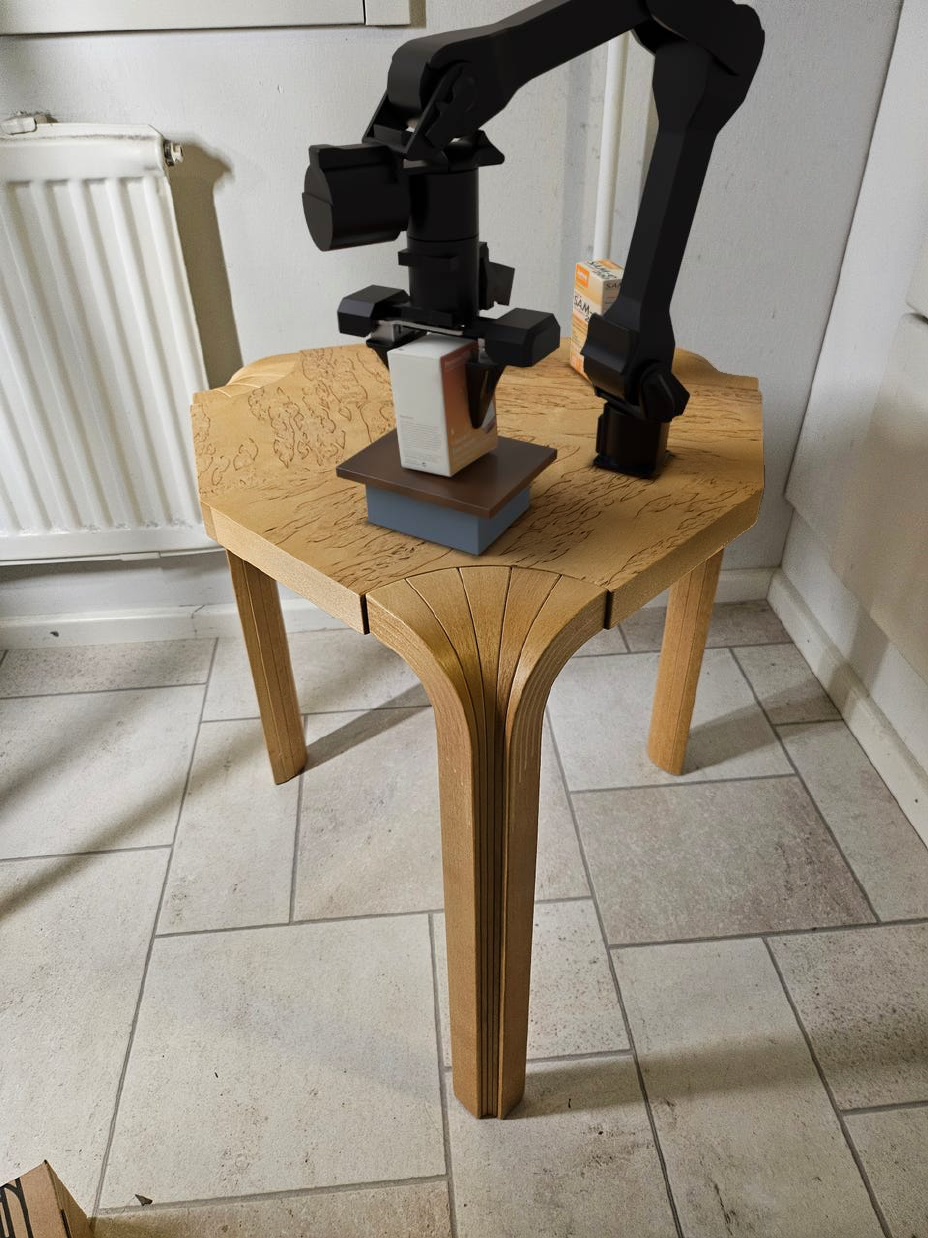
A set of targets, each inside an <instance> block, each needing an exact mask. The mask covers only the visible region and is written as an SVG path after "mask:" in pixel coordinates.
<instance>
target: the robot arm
mask: <svg viewBox="0 0 928 1238" xmlns="http://www.w3.org/2000/svg"><path fill="white" fill-rule="evenodd" d="M629 31H630V33H631V35H632V37H633V38H634V41H635V42H636V43H637V44H638V45H639V46H640V47H641V48H643V49H644V50H645V51H647V52H648V53H649V54H650V55H652V56H653V57H654V62H653V71H652V80H651V88H652V94H653V99H654V105H655V108H656V114H657V120H658V121H657V122H658V125H657V133H656V136H655V141H654V146H653V150H652V153H651V157H650V162H649V165H648V170H647V173H646V177H645V178H646V179H645V182H644V185H643V191H642V195H641V199H640V203H639V207H638V211H637V216H636V220H635V223H634V226H633V231H632V236H631V239H630V245H629V249H628V253H627V257H626V261H625V265H624V268H623V269H624V273H623V277H622V281H621V285H620V289H619V293H618V296H617V299H616V300H615V301H614V302H613V304H612V305H611V306H610V307H609V308H608V310H607V311H606V312H605V313H604V314H603V315H599V314H595V313H593V314H592V315H591V317H590V319H589V321H588V330H587V337H586V340H585V343H584V346H583V348H582V349H581V351H580V355H582V356H584V362H583V370H584V373H586V376H587V377H588V379H589V381H590V382H591V383H592V384H591V383H590V382H589V381H588V382H589V383H590V384H591V385H592V388H593V392H594V396H596V397H597V398H599V399H600V398H601V399H602V400H604V401H606V402H604V404H603V409H602V413H601V414H599V416H598V417H597V425H596V437H595V450H594V451H595V453H596V454H597V455H596V456H595V457H594V458H593V459H592V465H593V466H594V467H597V468H602V469H606V470H609V471H614V472H617V473H618V472H619V473H623V474H627V475H631V476H636V477H640V478H643V479H651V478H653V476H655V474H656V473H657V472H658V471H659V470H660V469H661V467H663V465H664V464H665V463H666V462H667V461H668V459H669V458H670V457H671V455H672V450H670V449H668V440H669V434H670V427H671V423H672V422H673V419H675V418H676V417H680V416H683V414H684V413H685V411H686V408H687V405H688V403H689V400H690V398H691V393H690V392H689V391H688V390H687V388H686V387H685V386H684V385H683V384H682V383H681V382H680V380H679V379H678V378H677V377H676V376H675V374H674V373H673V372H672V371H673V365H674V357H675V350H676V344H677V343H676V338H675V332H674V328H673V323H672V318H671V312H670V309H671V304H672V299H673V297H674V293H675V289H676V285H677V282H678V278H679V274H680V271H681V267H682V264H683V260H684V256H685V252H686V250H687V249H686V248H687V245H688V241H689V237H690V233H691V230H692V226H693V223H694V219H695V215H696V213H697V208H698V205H699V201H700V197H701V194H702V191H703V187H704V182H705V179H706V176H707V172H708V168H709V164H710V161H711V158H712V153H713V150H714V146H715V143H716V140H717V137H718V135H719V134H720V132H721V131H722V130H723V128H724V127H725V126H726V125H727V123H728V122H729V121H730V120H731V118H732V117H733V116H734V115H735V114H736V112H737V111H738V110H739V108H741V106H742V105H743V104H744V103H745V101H746V98H747V95H748V93H749V91H750V88H751V85H752V83H753V81H754V78H755V75H756V73H757V70H758V68H759V65H760V63H761V60H762V57H763V55H764V49H765V43H766V30H765V29H764V28H763V26H762V22H761V17H760V16H759V14H758V13H757V11H756V10H755V8H754V7H752V6H751V5H749V4H746V3H736V2H735V1H734V0H540V1H538V2H535V3H533V4H531V5H529V6H526V7H525V8H523V9H520V10H518V11H516V12H514V13H513V14H511V15H508V16H507V17H504V18H502V19H500V20H498V21H496V22H494V23H489V24H486V25H481V26H474V27H468V28H467V27H466V28H461V29H455V30H448V31H443V32H439V33H434V34H430V35H425V36H420V37H416V38H412V39H410V40H407V41H406V42H404V43H403V44H402V45H400V46H399V47H398V48H397V49H396V50H395V52H394V53H393V54H392V56H391V62H390V65H389V69H388V71H387V77H386V78H387V80H386V89H385V91H384V93H383V95H382V97H381V99H380V101H379V103H378V105H377V107H376V109H375V111H374V113H373V114H372V117H371V119H370V121H369V123H368V125H367V127H366V129H365V131H364V133H363V135H362V137H361V141H360V142H361V143H352V144H342V145H333V144H328V143H321V144H311V145H309V146H308V148H307V150H308V159H309V164H308V166H307V168H306V170H305V173H304V182H303V192H301V202H302V203H301V204H302V209H303V214H304V219H305V223H306V226H307V229H308V232H309V235H310V237H311V239H312V241H313V243H314V245H315V247H316V248H317V249H318V250H319V251H321V252H323V253H325V252H332V251H339V250H345V249H352V248H358V247H365V246H372V245H377V244H385V243H390V242H391V243H392V242H395V241H396V240H397V239H399V237H400V235H401V232H402V233H404V232H405V238H406V247H405V248H403V249H401V250H399V251H397V264H398V266H401V267H407V272H408V273H407V274H408V275H407V276H408V293H409V294H408V293H407V291H406V290H405V289H402V288H398V287H391V286H384V285H378V284H371V285H368V286H366V287H364V288H362V289H359V290H357V291H355V292H353V293H350V294H348V295H346V296H344V297H342V298H341V300H340V302H339V304H338V307H337V310H336V320H337V328H338V332H339V334H340V335H341V334H342V335H347V336H352V337H357V338H362V339H365V338H367V337H369V336H370V337H369V338H367V339H365V346H366V348H368V349H372V350H373V351H374V352H375V353H376V355H377V356H378V358H379V359H380V361H381V362H382V363H383V365H384V367H385V369H387V371H388V373H390V371H389V362H388V355H387V352H388V351H390V350H393V349H397V348H399V347H401V346H403V345H406V344H408V343H410V342H412V341H415V340H417V339H419V338H421V337H423V336H425V335H428V333H436V334H442V335H447V336H453V337H458V338H464V339H469V340H475V341H478V354H476V355H474V356H473V357H471V358H470V359H468V360H466V361H465V371H466V381H467V391H468V401H469V412H470V418H471V422H472V426H473V428H474V429H478V428H480V427H481V426H482V425H483V422H484V419H485V417H486V414H487V411H488V408H489V406H490V403H491V400H492V397H493V395H494V392H495V393H496V389H497V387H498V384H499V382H500V379H501V377H502V375H503V373H504V371H505V370H506V368H507V367H508V366H509V367H513V368H519V369H527V368H533V367H534V366H535V365H537V364H538V363H540V362H541V361H542V360H544V359H545V358H546V357H548V356H549V355H551V354H553V353H554V352H555V351H556V350H558V349H559V348H560V347H561V331H562V330H561V328H562V326H561V325H560V323H559V321H558V319H557V318H556V315H555V314H554V312H548V311H542V310H536V309H535V310H534V309H528V308H523V307H514V308H512V309H511V310H509V311H507V312H506V313H504V314H502V315H500V316H499V317H497V318H494V317H488V316H483V315H481V311H490V310H491V309H493V308H494V307H495V303H496V304H497V305H499V306H504V307H505V306H506V307H509V306H510V304H511V303H510V302H511V298H512V291H513V285H514V279H515V274H516V273H515V272H516V268H515V267H512V266H509V265H506V264H503V263H499V262H494V261H490V248H489V246H488V242H487V241H480V170H479V169H480V168H483V167H492V166H501V165H503V164H504V163H505V162H506V161H505V160H506V156H505V154H504V153H503V152H502V151H501V150H500V149H499V148H498V147H497V146H496V145H495V144H493V142H492V141H491V140H490V139H489V137H488V135H487V134H486V130H483V129H480V128H482V127H483V126H484V125H486V124H487V123H488V122H489V121H491V120H492V119H493V118H494V117H496V116H497V115H498V114H500V113H501V112H502V111H504V110H505V109H506V107H507V106H508V105H509V104H510V102H511V101H512V99H513V98H514V97H515V95H516V93H517V92H518V91H520V90H521V88H523V87H524V86H525V85H527V84H528V83H529V82H531V81H532V80H534V79H536V78H538V77H540V76H542V75H544V74H546V73H548V72H550V71H552V70H553V69H556V68H558V67H560V66H562V65H564V64H566V63H567V62H570V61H572V60H574V59H576V58H577V57H580V56H582V55H584V54H587V52H589V51H592V50H593V49H596V48H597V47H599V46H602V45H603V44H606V43H608V42H609V41H612V40H613V39H615V38H618V37H619V36H621V35H623V34H626V33H627V32H629ZM409 128H411V129H413V131H411V130H408V129H409ZM456 139H457V140H456ZM453 140H454V141H453Z"/></svg>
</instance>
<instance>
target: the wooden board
mask: <svg viewBox="0 0 928 1238" xmlns="http://www.w3.org/2000/svg"><path fill="white" fill-rule="evenodd" d="M558 451H559V450H558V449H557V448H555V447H550V446H546V445H541V444H536V443H533V442H528V441H524V440H520V439H515V438H512V437H507V436H502V435H499V434H498V446H497V447H496V448H495V449H493V450H491V451H489V452H487V453H486V454H484V455H482V456H481V457H479V458H478V459H476V460H475V461H473V462H471V463H470V464H468V465H467V466H465V467H464V468H462V469H461V470H459V471H458V472H457V473H455V474H454V475H453V476H451V477H449V476H444V475H439V474H434V473H429V472H424V471H420V470H415V469H410V468H405V467H402V464H401V456H400V449H399V441H398V433H397V426H396V427H394V428H393V429H391V430H389V431H387V433H385V434H383V435H382V436H381V437H379V438H378V439H376V440H374V441H373V442H371V443H370V444H369V445H367V446H365V447H364V448H362V449H360V450H359V451H358V452H355V454H353V455H352V456H350V457H349V458H347V459H346V460H344V461H343V462H341V463H340V464H338V465H337V466H335V472H336V473H335V474H336V477H337V478H340V479H344V480H347V481H350V482H354V483H358V484H362V485H364V486H365V485H368V486H372V487H375V488H379V489H382V490H386V491H389V492H393V493H397V494H400V495H404V496H407V497H411V498H414V499H418V500H421V501H425V502H428V503H432V504H436V505H439V506H443V507H446V508H450V509H453V510H457V511H460V512H464V513H468V514H471V515H475V516H478V517H482V518H485V519H489V520H490V519H491V518H493V517H494V516H495V515H496V514H497V513H498V512H499V511H500V510H501V509H502V508H503V507H505V506H506V505H507V504H508V503H509V502H510V501H511V500H512V499H513V498H514V497H515V496H517V495H518V494H519V493H520V492H521V491H522V490H523V489H524V488H525V487H526V486H527V485H529V484H530V485H531V483H532V482H533V481H534V480H535V479H537V478H538V477H539V476H540V475H541V474H542V473H543V472H544V471H545V470H546V469H547V468H548V467H550V466H551V465H552V464H553V463H554V462H555V461H556V460H557V459H558Z"/></svg>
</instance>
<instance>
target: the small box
mask: <svg viewBox="0 0 928 1238" xmlns="http://www.w3.org/2000/svg"><path fill="white" fill-rule="evenodd" d="M476 354H478V341H475V340H469V339H464V338H458V337H453V336H447V335H442V334H436V333H431V332H429V333H427V335H425V336H423V337H421V338H419V339H417V340H415V341H412V342H410V343H408V344H406V345H403V346H401V347H399V348H397V349H393V350H390V351H388V352H387V355H388V362H389V371H390V372H389V371H388V372H389V377H390V384H391V386H390V387H391V393H392V394H391V395H392V400H393V409H394V416H395V424H396V425H395V426H396V427H397V433H398V441H399V449H400V456H401V464H402V467H405V468H410V469H415V470H420V471H424V472H429V473H434V474H439V475H444V476H449V477H451V476H453V475H454V474H455V473H457V472H458V471H459V470H461V469H462V468H464V467H465V466H467V465H468V464H470V463H471V462H473V461H475V460H476V459H478V458H479V457H481V456H482V455H484V454H486V453H487V452H489V451H491V450H493V449H495V448H496V447H497V446H498V435H499V434H498V417H497V416H498V415H497V399H496V391H495V392H494V395H493V397H492V400H491V403H490V406H489V408H488V411H487V414H486V417H485V419H484V422H483V425H482V426H481V427H480V428H478V429H474V428H473V426H472V422H471V418H470V412H469V401H468V391H467V381H466V371H465V361H466V360H468V359H470V358H471V357H473V356H474V355H476Z"/></svg>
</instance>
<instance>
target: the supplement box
mask: <svg viewBox="0 0 928 1238" xmlns="http://www.w3.org/2000/svg"><path fill="white" fill-rule="evenodd" d="M624 269H625V268H623V267H622V266H620V265H618V264H617V263H615V262H613V261H612V260H611V259H609V258H607V259H599V260H598V259H597V260H586V261H579V262H576V263H575V274H574V275H575V276H574V277H575V279H574V289H573V290H574V291H573V304H572V305H573V306H572V322H571V334H570V336H571V337H570V349H569V350H570V352H569V366H571V367H572V368H573V369H574V370H576V371H577V372H578V373H579V374H580V375H582V376H583V378H585V379H586V380H587V381H588V382H589V383H590V384H591V385H592V383H591V382H590V381H589V379H588V377H587V376H586V373H584V370H583V362H584V356H582V355H580V351H581V349H582V348H583V346H584V343H585V340H586V337H587V330H588V321H589V319H590V317H591V315H592V314H593V313H595V314H599V315H603V314H604V313H605V312H606V311H607V310H608V308H609V307H610V306H611V305H612V304H613V302H614V301H615V300H616V299H617V296H618V293H619V289H620V285H621V281H622V277H623V273H624Z"/></svg>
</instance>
